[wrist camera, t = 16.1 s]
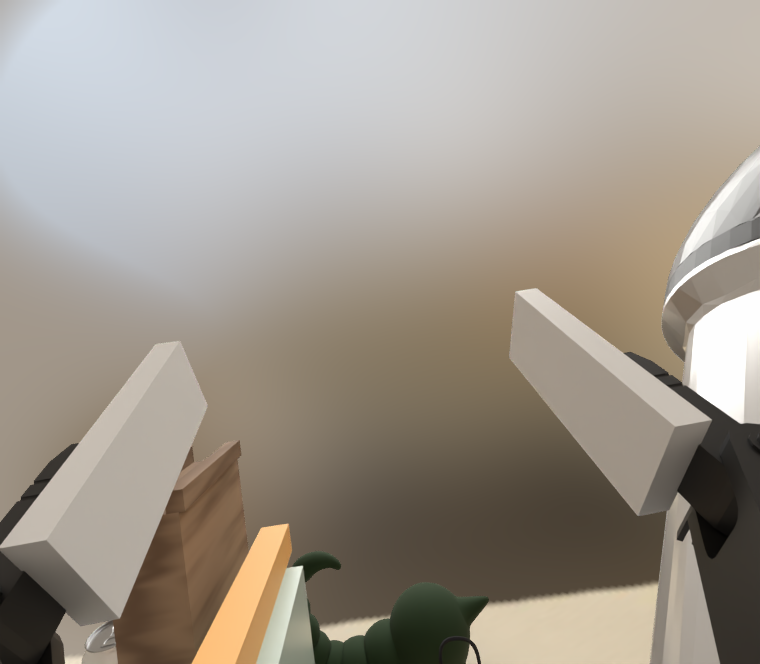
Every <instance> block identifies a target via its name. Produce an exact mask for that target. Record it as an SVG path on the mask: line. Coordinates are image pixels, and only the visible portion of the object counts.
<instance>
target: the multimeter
mask: <svg viewBox="0 0 760 664" xmlns="http://www.w3.org/2000/svg"><path fill="white" fill-rule="evenodd" d="M451 641H465V642H467V643H469V644H470V645H471V646H472V647H473V649H474V651H475V653H476V657H477V662H478V664H481V661H480V656H479V652H478V649H477V647H476V645H475V644H474V643H473V642H472V641H471V640H469V639H468V638H465V637H461V636H452V637H448V638H446V639H445V640H443V641H442V643H441V645H440V648H439V664H443V661H442V651H443V648H444V646H445V644H447V643H448V642H451Z"/></svg>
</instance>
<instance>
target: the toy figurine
mask: <svg viewBox="0 0 760 664" xmlns="http://www.w3.org/2000/svg"><path fill="white" fill-rule="evenodd" d="M298 566H303V570H304V578H305V582H307V581H308V580H309V579H310V578H311V577H312V576H313V575H314V574H315V573H316V572H318V571H319V570H322V569H325V568H333V569H336V570H339V569H340V568H341V564H340V562H339V561H338V560H337V559H336V558H335V557H334V556H333V555H331V554H329V553H326V552H321V551H316V552H311V553H307V554H305V555H303V556H302V557H300V558H299V559H298V560H297V561H296V562H295V563H294V565H293V567H298ZM488 601H489V599H488V597H486V596H473V597H456V596H455V595H453V594H452V593H451V592H450V591H449V590H447V589H446V588H444V587H442V586H440V585H438V584H435V583H418V584H415V585H414V586H412V587H410V588H408V589H407V590H406V591H404V592H403V593H402V594H401V596H400V597H399V598H398V600H397V601H396V603H395V605H394V607H393V610H392V612H391V617H390V619H383V620H380V621H378V622H376V623H374V624H373V625H372V626H371V627H370V628H369V630H368V631H367V633H366V634H365V636H363V635H358V636H354V637H351V638H349V639H348V640H346V641H345V642H344V643H343V642H341V641H337V640H332V641H330V640H329V638H328V637H327V635H326V634H325V633H324V632H322V631H320V628H319V623H318V621H317V619H316V618H315V616H314V615H312V614H311V613H310V603H309V601H308V599H307V603H308V611H309V619H310V627H311V636H312V644H313V652H314V660H315V664H439V648H440V645H441V643H442V641H443V640H445V639H446V638H448V637H452V636H461V637H465V638H468V639H469V640H470V625H471V624H472V622H473V621H474V620H475V618H476V617H477V616H478V615H479V613H480V612H481V611H482V610H483V608H484V607H485V606H486V605H487V603H488ZM468 651H469V643H467V642H465V641H451V642H448V643H447V644H445V646H444V648H443V651H442V661H443V664H466V659H467V656H468Z"/></svg>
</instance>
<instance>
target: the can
mask: <svg viewBox="0 0 760 664" xmlns="http://www.w3.org/2000/svg"><path fill="white" fill-rule="evenodd" d="M85 649H86V650H85V653H84V655H83V659H82V664H118V660H117V651H116V643H115V634H114V626H113V620H110V621H108V622H106V623H104V624H103V625H101V626H100V627H99V628H97V629H96V630H95V631H94V632H93V633H92V634H91V635H90V636H89V637H88V639H87V641H86V643H85Z"/></svg>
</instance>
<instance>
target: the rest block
mask: <svg viewBox="0 0 760 664" xmlns="http://www.w3.org/2000/svg"><path fill="white" fill-rule="evenodd" d="M256 664H315V660H314V652H313V644H312V636H311V627H310V619H309V611H308V603H307V595H306V587H305V578H304V570H303V566H298V567H291V568H286V571H285V574H284V577H283V580H282V583H281V586H280V589H279V593H278V596H277V599H276V602H275V605H274V608H273V611H272V615H271V618H270V621H269V624H268V627H267V630H266V634H265V637H264V640H263V643H262V646H261V649H260V652H259V656H258V659H257V662H256Z"/></svg>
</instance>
